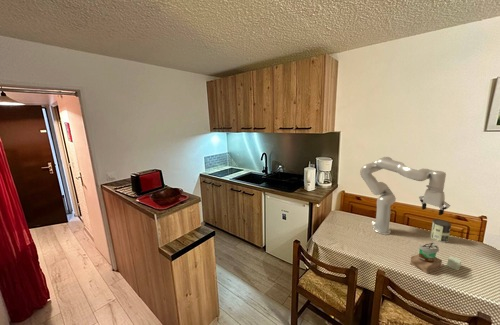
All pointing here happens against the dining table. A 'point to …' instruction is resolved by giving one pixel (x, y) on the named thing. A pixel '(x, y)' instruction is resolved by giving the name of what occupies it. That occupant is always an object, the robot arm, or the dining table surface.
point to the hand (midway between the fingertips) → (431, 211)
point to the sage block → (454, 263)
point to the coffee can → (440, 230)
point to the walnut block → (425, 264)
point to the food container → (428, 252)
